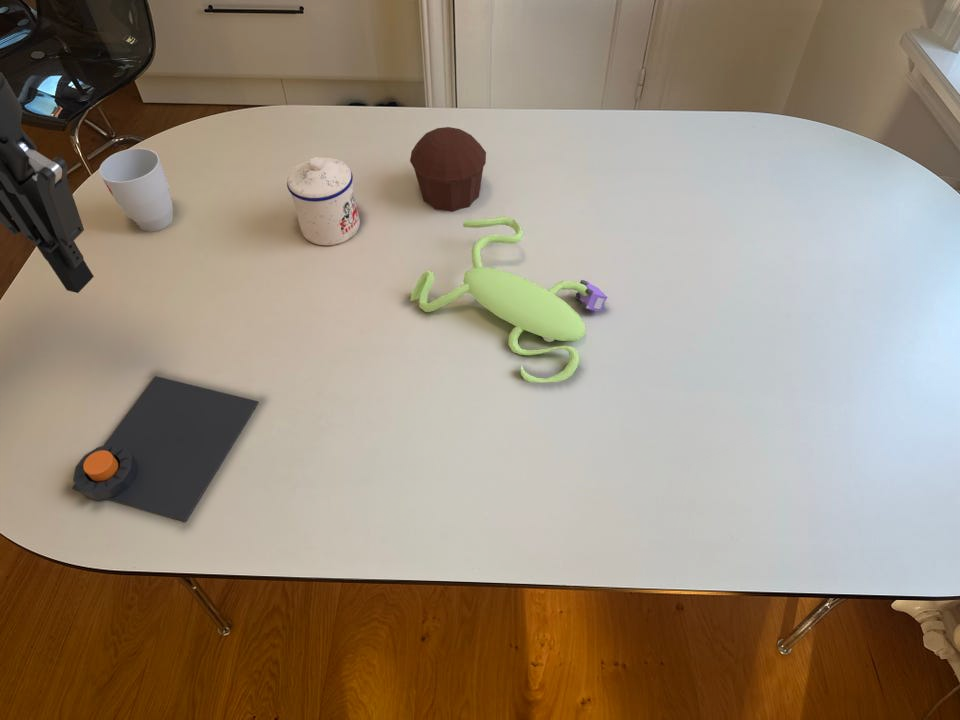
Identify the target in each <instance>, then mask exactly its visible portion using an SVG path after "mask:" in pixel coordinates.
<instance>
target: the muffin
mask: <svg viewBox="0 0 960 720" xmlns="http://www.w3.org/2000/svg"><path fill="white" fill-rule="evenodd" d="M409 158H410V159H409V162H410V164H411V165H412V167H413V169H414V173H415V176H416V180H417V183H418V187H419V189H420V193H421V197H422V200H423V202H425V203H426V204H428V205H429V206H431V208H433V209H434V210H437V211H438V210H439V211H446V212H447V211H448V212H452V213H453V212H456V211H459V210H461V209H467V208H470V207H471V205H473V203H474V202H475V201H476V200H477V199H479V197H480V192H481V186H482V185H481V184H482V179H483V172H484V167H485V165H486V164H487V163H486V162H487V151H486V150H485V149H484V148H483V146H482V145H481V143H480V142H478V140H477V139H476V138H475V137H474V135H472V134H470V133H468V132H466V131H464V130H463V129H460V128H458V127H451V126H445V127H437V128H434V129H432V130H430V131H428V132H426V133H425V134H423V136H422V137H421V138H420V139H419V140H418V141H417V142H416V144H415V145H414V147H413V148H412V150H411V151H410V157H409Z"/></svg>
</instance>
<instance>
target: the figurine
mask: <svg viewBox="0 0 960 720" xmlns="http://www.w3.org/2000/svg"><path fill="white" fill-rule="evenodd" d="M494 226H508V227H510V228H512V229H513V230H514V231H515V233H514V234H512V235H505V234H488V235H484V236H482V237H481V238H479V239H478V240H477V241H476V242H474V244H473V245H472V249H471V259H472V266H473V267H472V268H470V269H469V270H467V271H466V272H464V276H463V283H464V284H461V285H459V286H458V287H456V288H455V289H453V290H451V291H450V292H448V293H446V294H444V295H442V296H439V297H438V298H436V299H434V300H432V301H431V302H428V297H429V294H430V290H431V288H432V286H433V284H434V281H435V278H436V276H435V273H433V271H431V270H430V269H427V270H425V272H423V274H422V275H421V276H420V278H419V279H418V281H417V282H416V284H415V286H414V288H413V290H412V294H411V296H410V299H409V301H410V302H412V301H416V300H418V307H419V308H420V309H421V310H422V311H423V312H425V313H431V312H435V311H436V310H438V309H440V308H442V307H443V306H446V305H449V304H450V303H453V302H455V301H456V300H457V299H459V298H460V297H462V296H464V295H465V294H467V293H469V294H470V295H471V296H472V297H473V298H474V299H475V300H476V301H477V302H478V303H479V304H480V305H481V306H482V307H484V308H485V309H487V310H488V311H490V312H491V313H492V314H494V315H495V316H496V317H498V318H499V319H501V320H503V321H505V322H507V323H509V324H510V325H513V326H514V327H513V328H512V330H511V331H510V334H509V335H508V346H509V349H510V350H511V352H513V353H515V354H516V355H520V356H535V355H541V354H545V353H547V352H550V351H551V352H552V351H554V350H558V349H563V350H565V351H567V352H568V355H569V360H568V363H567V365H566V366H565V368H564V369H562V371H560V372H558V373H557V374H555V375H552V376H549V377H547V378H541V377H537V376H535V375H531V374H529V373H528V372H527V371H525V369H524V367H523V365H522V364H521V365H520V375H521V377H522V378H523V380H524V381H526V382H529V383H538V384H539V383H542V384H543V383H559V382H562V381H563V382H564V381H565V380H567V379H569V378H571V377H572V376H573V375H574V373H575V372H576V371H577V369H578V367H579V364H580V356H579V351H577V350H576V349H575V348H574V347H573V346H571V345H560V346H559V345H558V346H553V347H547V348H540V349H525V348H521V346H520V345H519V343H518V342H519V337H520V336H521V334H522V333H523V332H524V331H526V332H529V333H532V334H534V335H537V336H540V337H542V338H543V340H544V341H545V342H547V343H551V342H554V341H555V340H556V341H559V342H560V341H562V342H569V341H570V342H571V341H573V342H574V341H579V340H580V339H581V338H583V337H584V336H585V335H586V327H587V326H586V325H585V322H584V321H583V319H582V318H581V316H580V314H579V313H578V312H576V311H575V309H573V308H572V307H571V305H570V304H568V303H567V302H566V301H565V300H563V298H561V297H559V296H557V294H558V293H559V292H560V291H562V290H568V291H569V290H570V291H576V292H575V295H574V298H575V299H577V300H578V301H580V302H581V303H580V306H581V308H583V309H586V310H590V311H595V312H601V311H602V309H603V307H604V305H605V303H606V302H607V299H608V296H607V295H606V294H605V293H604V292H603V291H602V290H601V289H600V288H599V287H598V286H595V285H594V284H592V283H590V282H589V281H588V280H585V279H581V280H580V281H579V282H578V281H568V280H561V281H559V282H557V283H556V284H554V285H553V286H552V287H550V288H549V289H547V288H545V287H544V286H541V285H539V284H538V283H535V282H534V281H532V280H529V279H527V278H526V277H522V276H520V275H517V274H514V273H512V272H509V271H506V270H502V269H496V268H492V267H485V266H483V263H482V262H483V261H482V257H481V250H482V249H483V248H485V247H486V246H488V245H489V244H490V245H491V244H506V245H507V244H508V245H515V244H517V243H520V242H521V241H522V238H523V234H524V232H523V229H522V227H521V225H520V223H518V222H517V221H516V220H515V219H514V218H512V217H509V216H505V215H504V216H497V217H493V218H485V219H484V218H483V219H465V220H464V221H463V224H462V227H463V228H470V229H478V228H487V227H489V228H490V227H494Z"/></svg>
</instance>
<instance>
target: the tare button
mask: <svg viewBox="0 0 960 720" xmlns="http://www.w3.org/2000/svg"><path fill="white" fill-rule="evenodd" d="M83 468H84V471H85V472H86V473H87V474H88V476H89V477H90V478H91V479H92V480H94V481H105V480H107V479H109V478H111V477H112V476H113V475H114V474H115V473H116V472H117V470H118V462H117V460H116V459H115V458H114V456H113V455H112V454H111V453H110V452H109V451H105V450H100V451H96V452H94V453H92V454H91V455H89V456H88V457H87V459H86V460H85V462H84V465H83Z"/></svg>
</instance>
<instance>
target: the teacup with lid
mask: <svg viewBox="0 0 960 720" xmlns="http://www.w3.org/2000/svg"><path fill="white" fill-rule="evenodd" d="M353 180H354V175H353V172H352V170H351V168H350V167H349V166H348V165H347V164H345V162H343V161H341V160H339V159H336V158H332V157H319V156H314V157H311V158H310V159H307V160H305V161H302V162H301V163H299V164H297V165H296V166H294V167H293V168H292V170H291V171H290V172H289V174H288V176H287V180H286V187H287V190H288V192H289V193H290V194H291V199H292V202H293V205H294V209H295V213H296V216H297V220H298V224H299V228H300V231H301V234H302V235H303V237H304V238H305V239H306V241H308V242H310V243H313V244H315V245H319V246H334V245H339V244H342V243H345V242H346V241H348V240H350V239H351V238H352V237H354V235H355V234H356V233H357V232H358V230H359V227H360V225H361V224H360V222H361V221H360V216H359V210H358V205H357V201H356V196H355V195H356V194H355V190H354V184H353Z"/></svg>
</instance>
